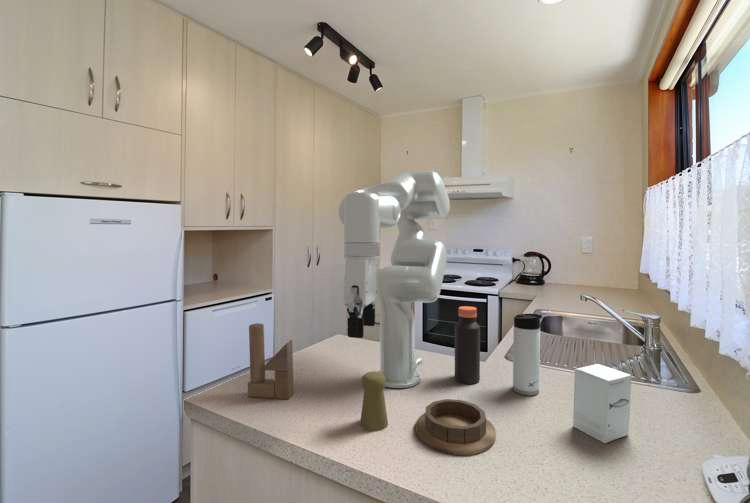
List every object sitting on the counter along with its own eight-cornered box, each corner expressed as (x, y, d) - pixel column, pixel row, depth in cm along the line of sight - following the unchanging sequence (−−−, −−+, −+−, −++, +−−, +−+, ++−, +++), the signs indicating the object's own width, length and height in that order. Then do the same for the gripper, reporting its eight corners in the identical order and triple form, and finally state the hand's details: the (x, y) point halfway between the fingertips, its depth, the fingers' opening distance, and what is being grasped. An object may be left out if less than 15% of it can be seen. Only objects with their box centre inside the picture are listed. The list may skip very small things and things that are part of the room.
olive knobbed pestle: (392, 419, 82) (392, 370, 81) (381, 433, 76) (380, 381, 76) (367, 414, 84) (367, 366, 84) (355, 427, 79) (354, 376, 78)
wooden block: (288, 400, 92) (286, 328, 91) (247, 397, 93) (245, 326, 92) (293, 393, 95) (292, 324, 94) (254, 391, 97) (252, 322, 96)
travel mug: (538, 398, 92) (539, 317, 90) (510, 392, 95) (511, 314, 94) (542, 389, 97) (543, 312, 96) (515, 383, 100) (516, 309, 99)
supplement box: (605, 444, 72) (607, 380, 71) (571, 426, 79) (573, 367, 78) (630, 436, 75) (632, 374, 74) (595, 418, 82) (597, 362, 81)
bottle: (449, 379, 103) (450, 308, 102) (462, 372, 108) (462, 304, 107) (472, 386, 98) (472, 311, 97) (484, 379, 103) (485, 307, 102)
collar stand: (440, 405, 88) (440, 389, 88) (507, 428, 78) (508, 409, 78) (400, 434, 76) (400, 415, 76) (474, 466, 66) (474, 444, 65)
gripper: (356, 249, 88) (356, 321, 89) (330, 253, 72) (331, 341, 72) (387, 249, 87) (387, 322, 87) (368, 253, 70) (368, 343, 71)
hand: (362, 331), depth 80 cm, fingers open, 9 cm apart
